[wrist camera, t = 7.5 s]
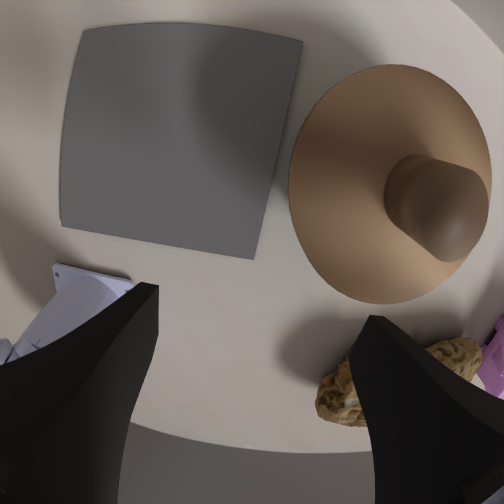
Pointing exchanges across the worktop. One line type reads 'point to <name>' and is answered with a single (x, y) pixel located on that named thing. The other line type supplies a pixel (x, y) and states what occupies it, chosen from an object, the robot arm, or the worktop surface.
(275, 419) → the worktop surface
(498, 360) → the teapot
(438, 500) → the robot arm
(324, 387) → the sponge
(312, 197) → the lid
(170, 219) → the mat
